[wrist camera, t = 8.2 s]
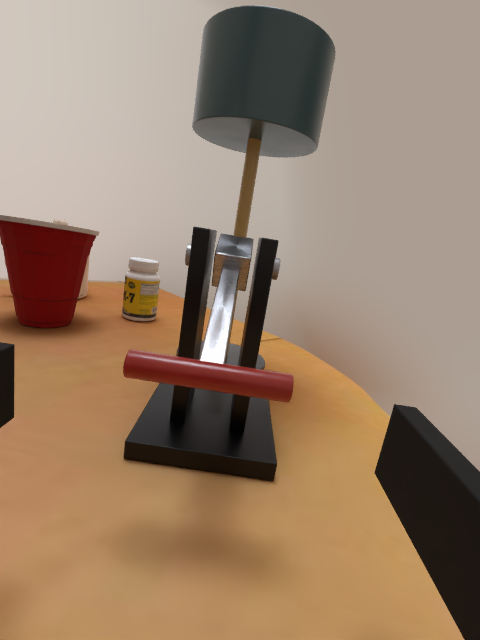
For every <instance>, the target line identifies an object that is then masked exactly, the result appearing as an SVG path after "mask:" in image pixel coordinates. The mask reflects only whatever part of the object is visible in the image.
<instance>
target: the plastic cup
mask: <svg viewBox="0 0 480 640" xmlns="http://www.w3.org/2000/svg"><path fill="white" fill-rule="evenodd" d="M98 235H99V232H97V231H93V230H89V229H83V228H78V227H73V226H67V225H61V224H56V223H50V222H44V221H37V220H31V219H24V218H17V217H11V216H3V215H0V238H1V244H2V245H3V250H4V256H5V261H6V267H7V272H8V278H9V283H10V288H11V293H12V294H13V299H14V305H15V311H16V315H17V317H18V321H19V322H20V323H21V324H24V325H27V326H32V327H43V328H52V327H61V326H66V325H68V324H70V323H71V321H72V319H73V316H74V312H75V307H76V302H77V298H78V297H79V293H80V289H81V285H82V280H83V276H84V272H85V268H86V263H87V259H88V256H89V254H90V250H91V247H92V245H93V241H94V240H95V238H96V236H98Z"/></svg>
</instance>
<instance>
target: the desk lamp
mask: <svg viewBox="0 0 480 640" xmlns="http://www.w3.org/2000/svg"><path fill="white" fill-rule="evenodd" d="M334 60H335V47H334V44H333V42H332V40H331V38H330V37H329V35H328V34H327V33H326V32H325V31H324V30H323V29H322V28H321V27H319V26H318V25H317V24H315V23H314V22H312V21H311V20H309V19H307V18H305V17H303V16H301V15H298V14H296V13H293V12H290V11H287V10H283V9H279V8H275V7H267V6H254V5H253V6H240V7H234V8H230V9H226V10H224V11H222V12H219V13H218V14H216V15H214V16H213V17H212V18H211V19H209V21H208V22H207V24H206V25H205V27H204V30H203V38H202V46H201V56H200V65H199V72H198V81H197V91H196V99H195V107H194V116H193V125H192V127H193V130H194V131H195V133H197V134H198V135H199V136H200V137H202V138H203V139H205V140H207V141H209V142H211V143H214V144H216V145H219V146H222V147H225V148H228V149H231V150H235V151H239V152H243V153H246V156H245V163H244V170H243V176H242V183H241V190H240V197H239V203H238V210H237V217H236V223H235V230H234V236H239V237H245V238H246V236H247V230H248V223H249V217H250V211H251V204H252V198H253V191H254V185H255V179H256V173H257V166H258V160H259V155H260V156H269V157H299V156H305V155H308V154H311V153H313V152H314V151H316V149H317V147H318V142H319V137H320V131H321V127H322V122H323V116H324V111H325V106H326V101H327V96H328V91H329V86H330V81H331V75H332V70H333V65H334ZM237 292H238V290H237ZM237 292H236V298H235V304H234V310H233V316H232V323H231V329H230V335H229V341H228V347H227V353H226V359H225V364H229V365H235V366H238V361H239V355H240V349H241V346H239V345H235V344H231V343H230V337H231V330H232V324H233V318H234V311H235V305H236V299H237ZM203 342H204V341H201V348H200V354H201V350H202V346H203ZM178 349H179V348H178ZM178 349H177V354H176V356H178ZM199 358H200V355H199ZM264 368H265V361H264V359H263V358H262V357H261V356H260V355H259V354H258V358H257V363H256V369H261V370H264Z"/></svg>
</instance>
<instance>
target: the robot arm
mask: <svg viewBox="0 0 480 640" xmlns="http://www.w3.org/2000/svg"><path fill="white" fill-rule="evenodd" d="M13 418H14V344H7V343H1V342H0V428H1V427H2V426H4V425H5V424H6V423H7V422H9V421H10V420H11V419H13ZM375 474H376V476H377V478H378V480H379V482H380V484H381V486H382V487H383V489H384V491H385V493H386V495H387V497H388V499H389V500H390V502H391V504H392V506H393V508H394V510H395V512H396V513H397V515H398V517H399V519H400V521H401V523H402V525H403V526H404V528H405V530H406V532H407V534H408V536H409V538H410V539H411V541H412V543H413V545H414V547H415V549H416V550H417V552H418V554H419V556H420V558H421V560H422V562H423V563H424V565H425V567H426V569H427V571H428V573H429V575H430V576H431V578H432V580H433V582H434V584H435V586H436V588H437V589H438V591H439V593H440V595H441V597H442V599H443V601H444V602H445V604H446V606H447V608H448V610H449V612H450V614H451V615H452V617H453V619H454V621H455V623H456V625H457V626H458V628H459V630H460V632H461V634H462V636H463V638H464V639H465V640H480V472H479V471H478V470H477V469H476V468H475V467H474V466H473V465H472V464H471V463H470V462H469V461H468V460H467V459H466V458H465V457H464V456H463V455H462V453H461V452H459V451H458V449H457V448H456V447H455V446H453V444H452V443H451V442H450V441H449V440H448V439H447V438H446V437H445V436H444V435H443V434H442V433H441V432H440V431H439V430H438V429H437V428H436V427H435V426H434V425H433V424H432V423H431V422H430V421H429V420H428V419H427V418H426V417H425V416H424V415H423V414H422V413H421V412H420V411H419V410H418V409H417V408H415V407H409V406H408V407H407V406H402V405H396V404H395V405H394V408H393V411H392V414H391V418H390V421H389V425H388V428H387V432H386V435H385V439H384V442H383V445H382V449H381V452H380V456H379V459H378V463H377V466H376V470H375Z"/></svg>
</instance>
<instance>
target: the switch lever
mask: <svg viewBox="0 0 480 640" xmlns="http://www.w3.org/2000/svg"><path fill="white" fill-rule="evenodd" d="M252 246H253V239H251V238H245V237H239V236H233V235H226V234H221V235H220V238H219V241H218V245H217V248H216V251H215V257H214V267H213V278H212V286H215V287H217V290H216V294H215V298H214V302H213V307H212V310H211V314H210V318H209V322H208V326H207V330H206V334H205V338H204V342H203V346H202V350H201V354H200V358H199V360H197V359H191V358H184V357H178V356H171V355H165V354H159V353H152V352H146V351H139V350H133V349H131V350H129V351H128V353H127V355H126V358H125V361H124V367H123V373H124V377H126V378H133V379H139V380H145V381H152V382H158V383H165V384H171V385H178V386H184V387H191V388H197V389H204V390H210V391H216V392H223V393H229V394H236V395H242V396H249V397H255V398H262V399H268V400H275V401H281V402H287V403H288V402H290V400H291V397H292V392H293V375H292V374H286V373H280V372H274V371H267V370H261V369H254V368H248V367H242V366H235V365H229V364H225V359H226V353H227V347H228V341H229V335H230V329H231V323H232V316H233V310H234V304H235V298H236V292H237V290H241V291H245V290H246V285H247V279H248V274H249V268H250V262H251V255H252Z"/></svg>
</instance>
